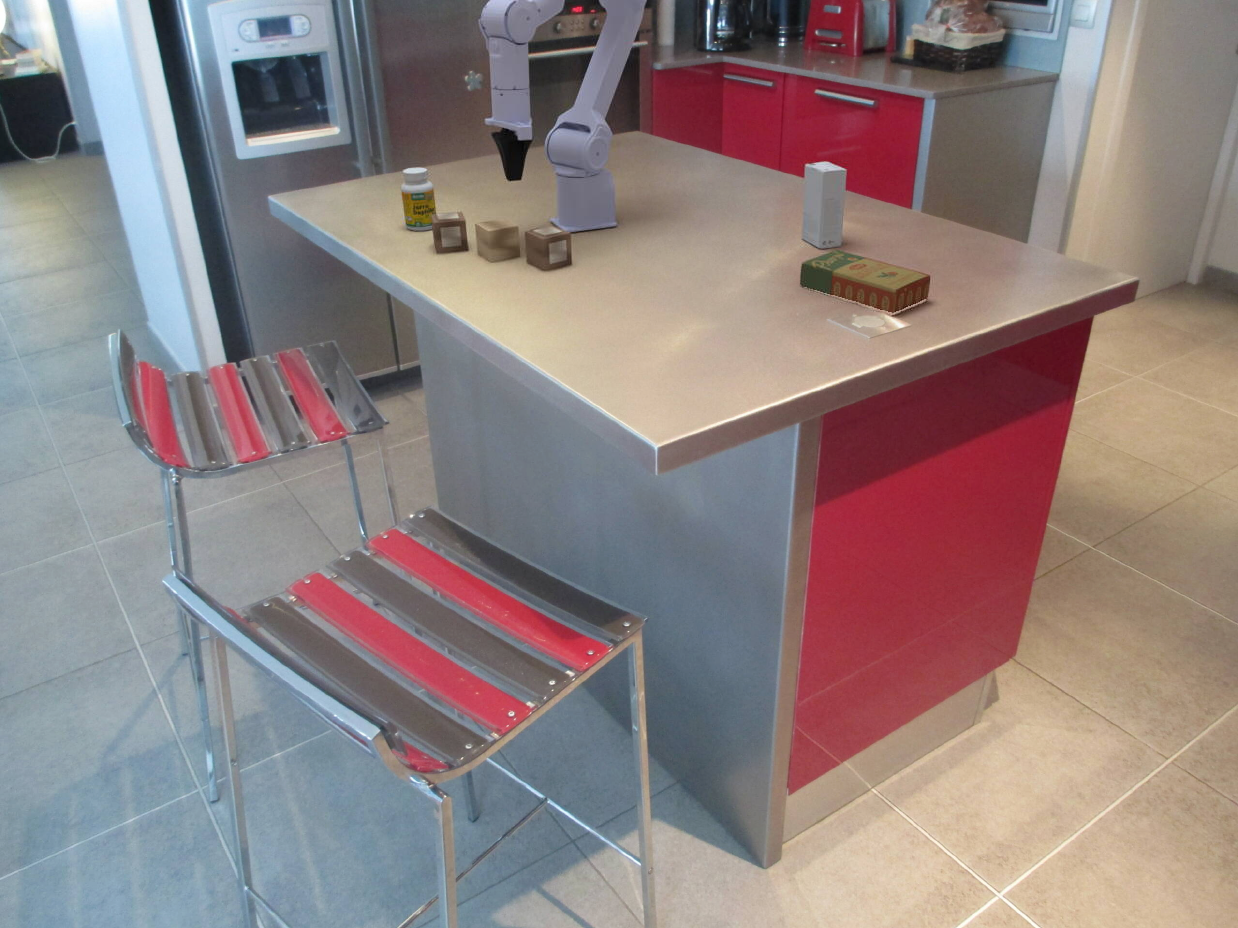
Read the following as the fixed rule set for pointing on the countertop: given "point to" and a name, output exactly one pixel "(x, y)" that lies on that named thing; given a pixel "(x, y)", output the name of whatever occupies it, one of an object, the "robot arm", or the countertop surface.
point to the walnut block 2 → (548, 248)
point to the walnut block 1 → (449, 232)
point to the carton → (865, 280)
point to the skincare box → (823, 204)
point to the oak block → (497, 240)
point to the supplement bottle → (417, 199)
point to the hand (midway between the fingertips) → (513, 180)
